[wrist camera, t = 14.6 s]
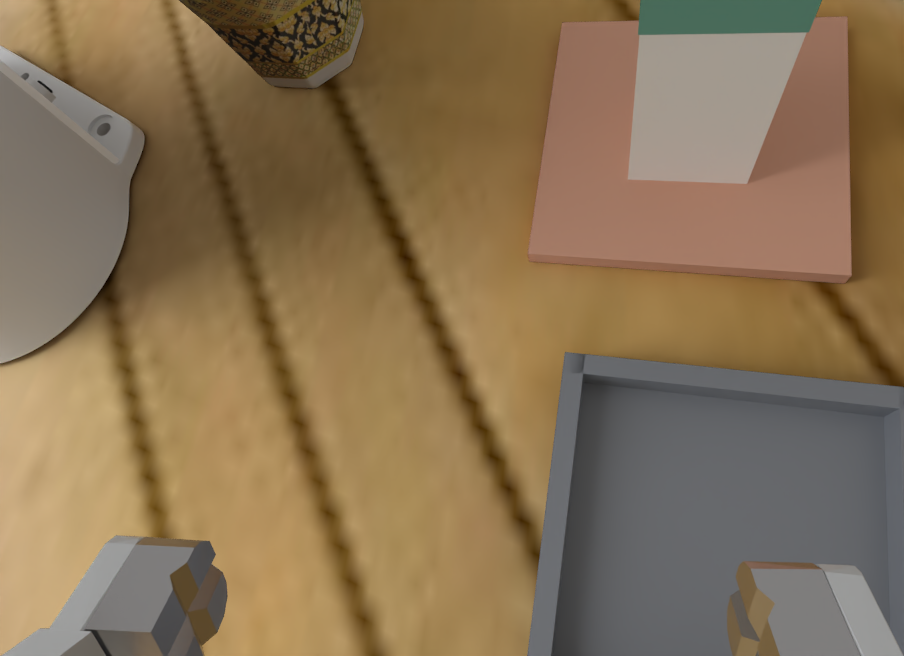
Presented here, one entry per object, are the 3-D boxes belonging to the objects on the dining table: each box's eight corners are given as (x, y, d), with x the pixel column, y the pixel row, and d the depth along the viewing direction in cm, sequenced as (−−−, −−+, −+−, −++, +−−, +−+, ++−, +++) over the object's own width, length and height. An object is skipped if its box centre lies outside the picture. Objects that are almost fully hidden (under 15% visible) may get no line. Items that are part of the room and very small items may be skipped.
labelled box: (626, 180, 30) (649, -117, 17) (636, 87, 31) (663, -252, 18) (748, 185, 28) (874, -134, 15) (751, 87, 30) (870, -277, 17)
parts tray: (527, 691, 24) (521, 701, 22) (567, 366, 28) (564, 352, 26) (915, 781, 21) (945, 802, 19) (900, 402, 25) (924, 389, 23)
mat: (529, 261, 30) (527, 253, 29) (562, 33, 34) (562, 22, 33) (844, 283, 27) (851, 275, 26) (841, 29, 31) (847, 16, 30)
